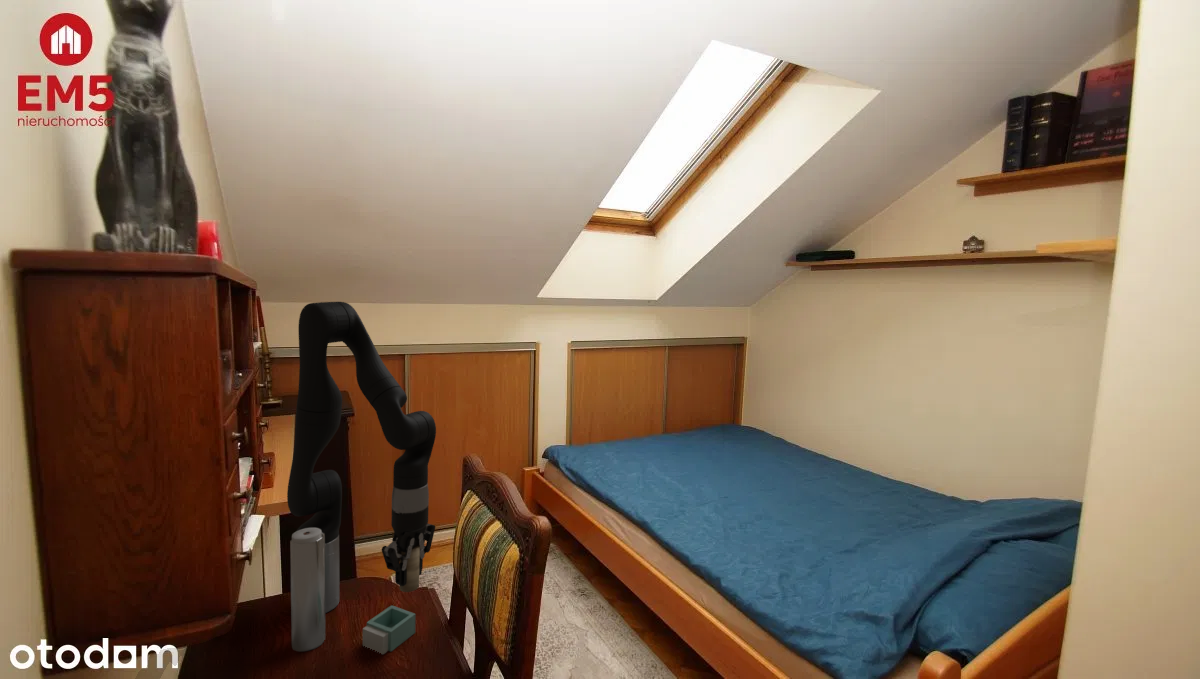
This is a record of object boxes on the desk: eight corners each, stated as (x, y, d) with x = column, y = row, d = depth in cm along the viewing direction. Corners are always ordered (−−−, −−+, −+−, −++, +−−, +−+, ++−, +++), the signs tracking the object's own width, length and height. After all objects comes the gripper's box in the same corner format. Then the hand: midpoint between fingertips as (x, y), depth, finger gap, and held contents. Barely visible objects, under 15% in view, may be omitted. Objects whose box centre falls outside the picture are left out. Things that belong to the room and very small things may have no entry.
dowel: (395, 589, 113) (396, 549, 112) (408, 580, 116) (409, 541, 116) (409, 593, 111) (410, 553, 110) (422, 584, 115) (423, 545, 114)
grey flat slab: (362, 646, 113) (362, 628, 113) (367, 642, 114) (367, 625, 114) (383, 654, 111) (383, 636, 110) (388, 650, 112) (388, 633, 112)
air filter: (310, 654, 110) (309, 541, 108) (284, 649, 111) (282, 537, 109) (332, 635, 116) (331, 527, 114) (307, 630, 118) (306, 524, 116)
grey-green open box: (366, 641, 115) (366, 622, 114) (391, 623, 121) (391, 605, 121) (390, 651, 112) (391, 632, 111) (415, 632, 118) (415, 613, 118)
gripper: (420, 489, 120) (419, 560, 122) (371, 512, 107) (370, 591, 109) (446, 496, 117) (444, 568, 119) (398, 520, 104) (397, 601, 106)
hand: (409, 579), depth 114 cm, fingers closed on dowel, 4 cm apart
